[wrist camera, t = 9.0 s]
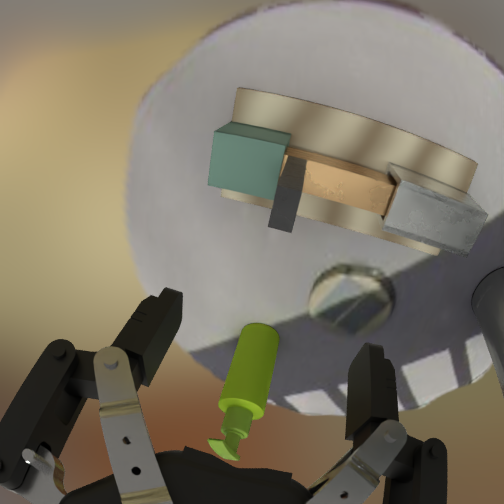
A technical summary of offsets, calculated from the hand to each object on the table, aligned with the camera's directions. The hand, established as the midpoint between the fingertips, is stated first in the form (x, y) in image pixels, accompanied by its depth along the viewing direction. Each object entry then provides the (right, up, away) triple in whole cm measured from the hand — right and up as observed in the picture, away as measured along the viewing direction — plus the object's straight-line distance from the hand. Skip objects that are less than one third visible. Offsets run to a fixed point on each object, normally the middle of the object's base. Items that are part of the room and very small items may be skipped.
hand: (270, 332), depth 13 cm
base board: (+10, +11, +17) cm, 23 cm away
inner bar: (+8, +11, +15) cm, 20 cm away
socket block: (0, +14, +18) cm, 23 cm away
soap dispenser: (0, -9, +33) cm, 34 cm away
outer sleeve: (+17, +9, +17) cm, 26 cm away
